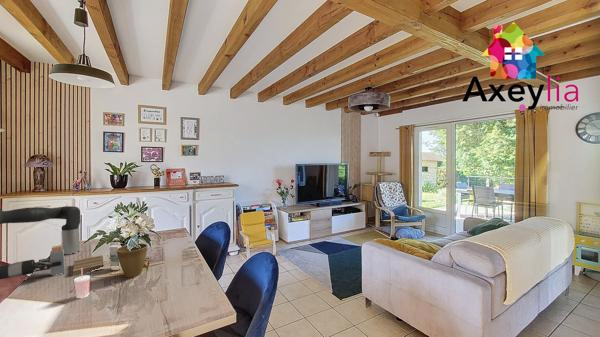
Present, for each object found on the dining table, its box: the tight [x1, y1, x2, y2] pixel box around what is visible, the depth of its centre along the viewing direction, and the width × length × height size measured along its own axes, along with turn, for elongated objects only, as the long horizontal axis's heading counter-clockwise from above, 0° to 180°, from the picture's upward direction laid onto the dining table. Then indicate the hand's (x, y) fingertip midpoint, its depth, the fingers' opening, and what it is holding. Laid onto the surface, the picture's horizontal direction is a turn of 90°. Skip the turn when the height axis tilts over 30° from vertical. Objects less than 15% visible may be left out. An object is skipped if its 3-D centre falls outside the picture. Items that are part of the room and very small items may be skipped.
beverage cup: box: [73, 268, 91, 299], centre depth 126 cm, size 6×6×14 cm
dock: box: [72, 254, 105, 276], centre depth 161 cm, size 20×14×3 cm
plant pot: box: [117, 243, 148, 279], centre depth 149 cm, size 15×15×16 cm
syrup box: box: [109, 243, 122, 267], centre depth 158 cm, size 6×6×14 cm
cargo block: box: [51, 244, 63, 253], centre depth 151 cm, size 4×4×4 cm
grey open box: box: [49, 248, 66, 276], centre depth 152 cm, size 6×6×13 cm
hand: (61, 260), depth 153 cm, fingers open, 8 cm apart
